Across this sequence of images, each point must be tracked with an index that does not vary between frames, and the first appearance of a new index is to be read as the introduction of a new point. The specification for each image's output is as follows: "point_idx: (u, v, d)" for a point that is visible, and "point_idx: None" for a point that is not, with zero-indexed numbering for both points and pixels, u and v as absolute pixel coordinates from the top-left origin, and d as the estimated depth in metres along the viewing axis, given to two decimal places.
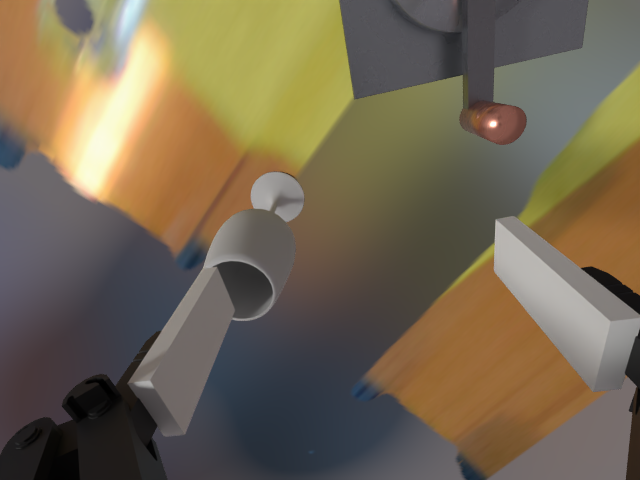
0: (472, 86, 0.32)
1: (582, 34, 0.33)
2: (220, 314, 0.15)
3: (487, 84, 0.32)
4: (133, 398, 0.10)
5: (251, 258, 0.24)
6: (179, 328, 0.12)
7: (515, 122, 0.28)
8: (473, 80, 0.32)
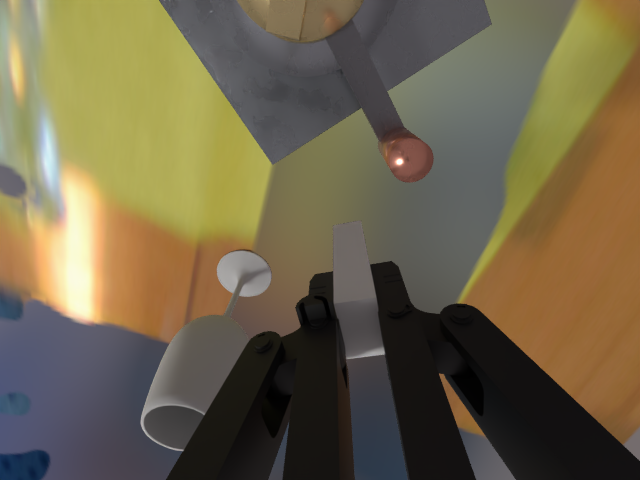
0: (373, 120, 0.28)
1: (485, 10, 0.28)
2: None
3: (389, 112, 0.28)
4: None
5: (177, 398, 0.23)
6: (350, 265, 0.13)
7: (419, 154, 0.24)
8: (372, 114, 0.28)
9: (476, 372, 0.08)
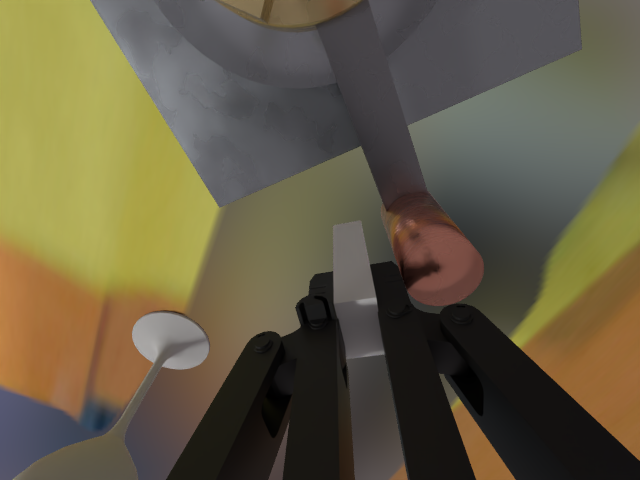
0: (380, 175, 0.17)
1: (577, 26, 0.18)
2: None
3: (407, 166, 0.17)
4: None
5: None
6: (350, 265, 0.13)
7: (460, 265, 0.13)
8: (380, 166, 0.17)
9: (476, 372, 0.08)
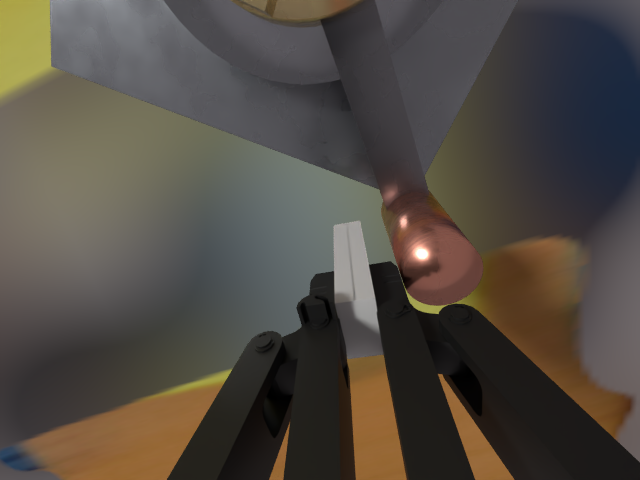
0: (382, 173, 0.17)
1: None
2: None
3: (409, 165, 0.17)
4: None
5: None
6: (351, 265, 0.13)
7: (459, 265, 0.13)
8: (381, 164, 0.17)
9: (475, 372, 0.08)
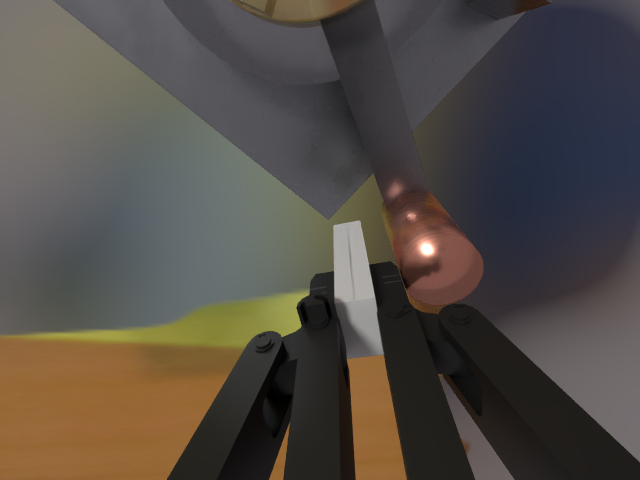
0: (382, 173, 0.17)
1: (338, 206, 0.23)
2: None
3: (409, 165, 0.17)
4: None
5: None
6: (351, 265, 0.13)
7: (459, 265, 0.13)
8: (381, 164, 0.17)
9: (474, 372, 0.08)
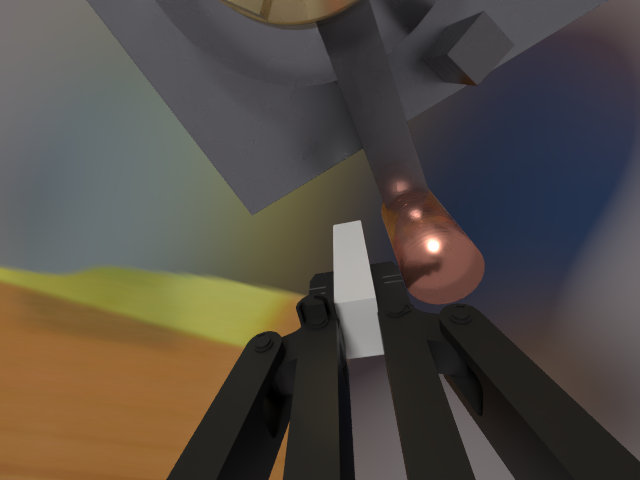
0: (381, 173, 0.17)
1: (264, 205, 0.23)
2: None
3: (408, 164, 0.17)
4: None
5: None
6: (350, 265, 0.13)
7: (460, 263, 0.13)
8: (380, 164, 0.17)
9: (475, 372, 0.08)
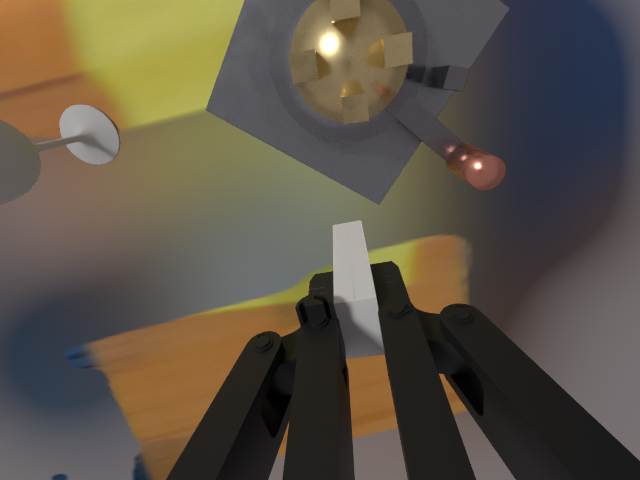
0: (438, 148, 0.35)
1: (383, 196, 0.42)
2: None
3: (449, 138, 0.34)
4: None
5: None
6: (350, 265, 0.13)
7: (492, 166, 0.30)
8: (436, 145, 0.34)
9: (476, 372, 0.08)
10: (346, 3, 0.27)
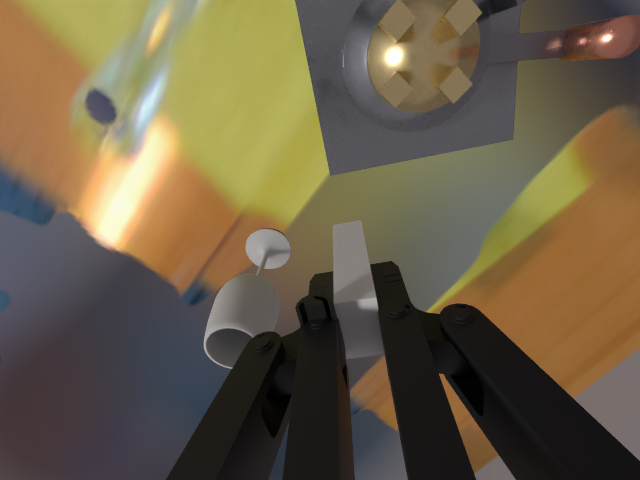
0: (546, 54, 0.33)
1: (512, 130, 0.41)
2: None
3: (551, 37, 0.33)
4: None
5: (242, 325, 0.32)
6: (350, 265, 0.13)
7: (626, 27, 0.28)
8: (542, 53, 0.33)
9: (476, 372, 0.08)
10: (400, 20, 0.30)
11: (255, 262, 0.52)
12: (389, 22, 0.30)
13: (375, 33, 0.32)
